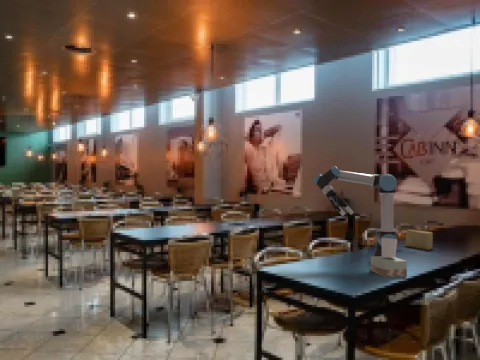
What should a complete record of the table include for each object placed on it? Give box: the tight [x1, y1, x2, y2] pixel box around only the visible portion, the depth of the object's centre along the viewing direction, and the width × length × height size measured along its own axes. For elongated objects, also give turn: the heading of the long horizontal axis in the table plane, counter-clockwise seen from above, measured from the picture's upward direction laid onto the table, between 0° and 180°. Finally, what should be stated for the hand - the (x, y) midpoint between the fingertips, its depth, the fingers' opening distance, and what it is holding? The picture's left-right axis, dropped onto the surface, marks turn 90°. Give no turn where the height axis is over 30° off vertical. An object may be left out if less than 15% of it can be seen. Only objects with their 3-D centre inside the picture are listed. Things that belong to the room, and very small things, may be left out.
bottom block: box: [370, 263, 408, 278], centre depth 270 cm, size 16×16×5 cm
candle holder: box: [382, 238, 398, 258], centre depth 271 cm, size 10×10×12 cm
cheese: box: [405, 229, 434, 251], centre depth 369 cm, size 22×10×15 cm, turn 42°
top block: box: [370, 256, 408, 270], centre depth 270 cm, size 16×16×5 cm
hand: (348, 214), depth 293 cm, fingers open, 13 cm apart
